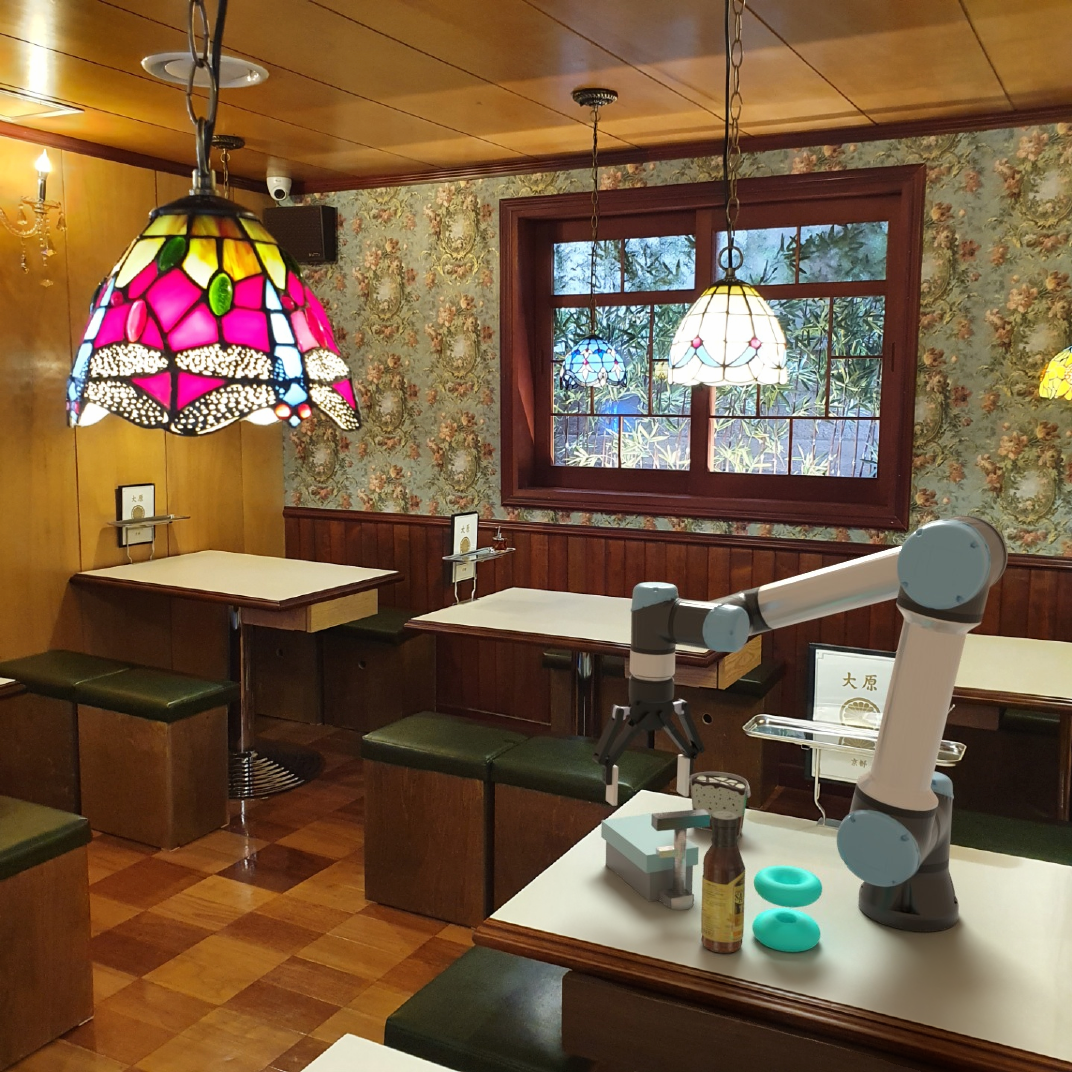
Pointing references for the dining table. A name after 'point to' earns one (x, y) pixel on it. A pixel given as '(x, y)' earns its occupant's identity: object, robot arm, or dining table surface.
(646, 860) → the cover
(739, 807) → the food container
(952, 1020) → the dining table surface
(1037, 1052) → the dining table surface
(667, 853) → the key
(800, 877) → the donuts
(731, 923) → the sauce bottle
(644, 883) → the case
